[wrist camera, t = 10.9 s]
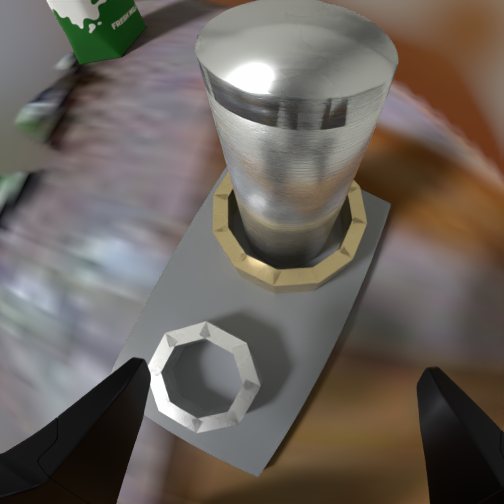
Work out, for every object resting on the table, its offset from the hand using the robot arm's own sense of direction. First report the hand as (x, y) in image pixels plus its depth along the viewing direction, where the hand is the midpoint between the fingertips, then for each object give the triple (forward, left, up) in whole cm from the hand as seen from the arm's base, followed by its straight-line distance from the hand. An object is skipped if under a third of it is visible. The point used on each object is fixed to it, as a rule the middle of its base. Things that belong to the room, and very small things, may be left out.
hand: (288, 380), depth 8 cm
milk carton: (+22, +34, -9) cm, 41 cm away
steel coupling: (+7, +3, -8) cm, 11 cm away
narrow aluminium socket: (-3, +3, -9) cm, 10 cm away
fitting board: (+2, +3, -9) cm, 10 cm away
